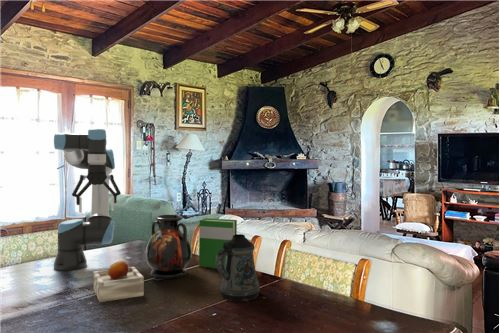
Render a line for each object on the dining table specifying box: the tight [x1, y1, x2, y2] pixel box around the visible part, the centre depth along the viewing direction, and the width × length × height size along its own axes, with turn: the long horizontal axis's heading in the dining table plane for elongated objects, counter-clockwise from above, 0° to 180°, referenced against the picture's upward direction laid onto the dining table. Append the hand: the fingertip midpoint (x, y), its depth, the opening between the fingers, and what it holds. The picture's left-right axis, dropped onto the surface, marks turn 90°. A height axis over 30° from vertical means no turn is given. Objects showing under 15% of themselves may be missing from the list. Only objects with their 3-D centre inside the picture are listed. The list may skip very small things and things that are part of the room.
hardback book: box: [198, 217, 238, 269], centre depth 209 cm, size 18×7×24 cm, turn 76°
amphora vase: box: [145, 214, 192, 280], centre depth 194 cm, size 22×22×28 cm
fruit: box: [108, 260, 129, 279], centre depth 169 cm, size 8×8×8 cm
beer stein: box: [216, 233, 261, 302], centre depth 167 cm, size 16×19×25 cm
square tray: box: [92, 266, 145, 303], centre depth 169 cm, size 17×17×8 cm
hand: (96, 211), depth 181 cm, fingers open, 13 cm apart
